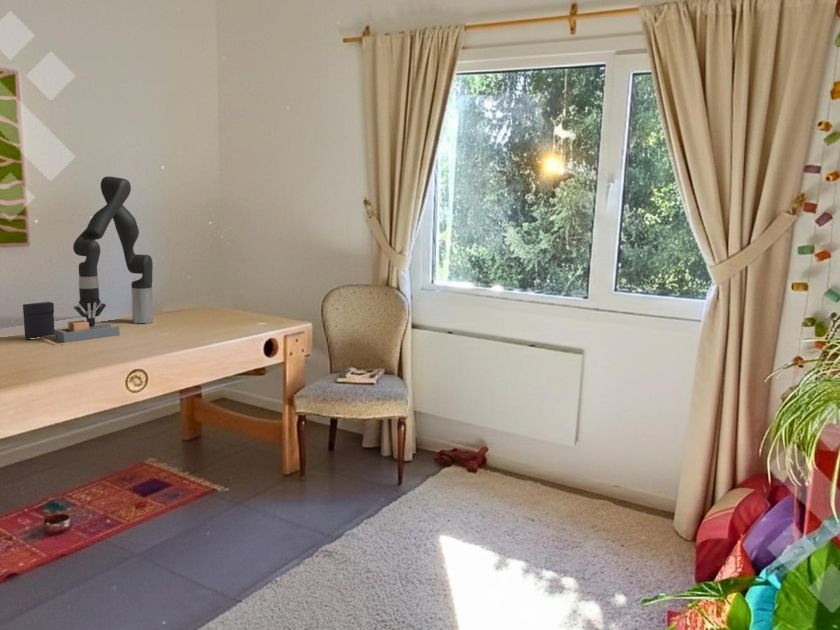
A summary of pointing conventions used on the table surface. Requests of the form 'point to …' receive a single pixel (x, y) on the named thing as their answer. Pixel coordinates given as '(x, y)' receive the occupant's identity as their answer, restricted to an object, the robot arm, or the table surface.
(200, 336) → the table surface
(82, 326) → the block
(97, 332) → the chute
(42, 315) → the dark grey upright box
